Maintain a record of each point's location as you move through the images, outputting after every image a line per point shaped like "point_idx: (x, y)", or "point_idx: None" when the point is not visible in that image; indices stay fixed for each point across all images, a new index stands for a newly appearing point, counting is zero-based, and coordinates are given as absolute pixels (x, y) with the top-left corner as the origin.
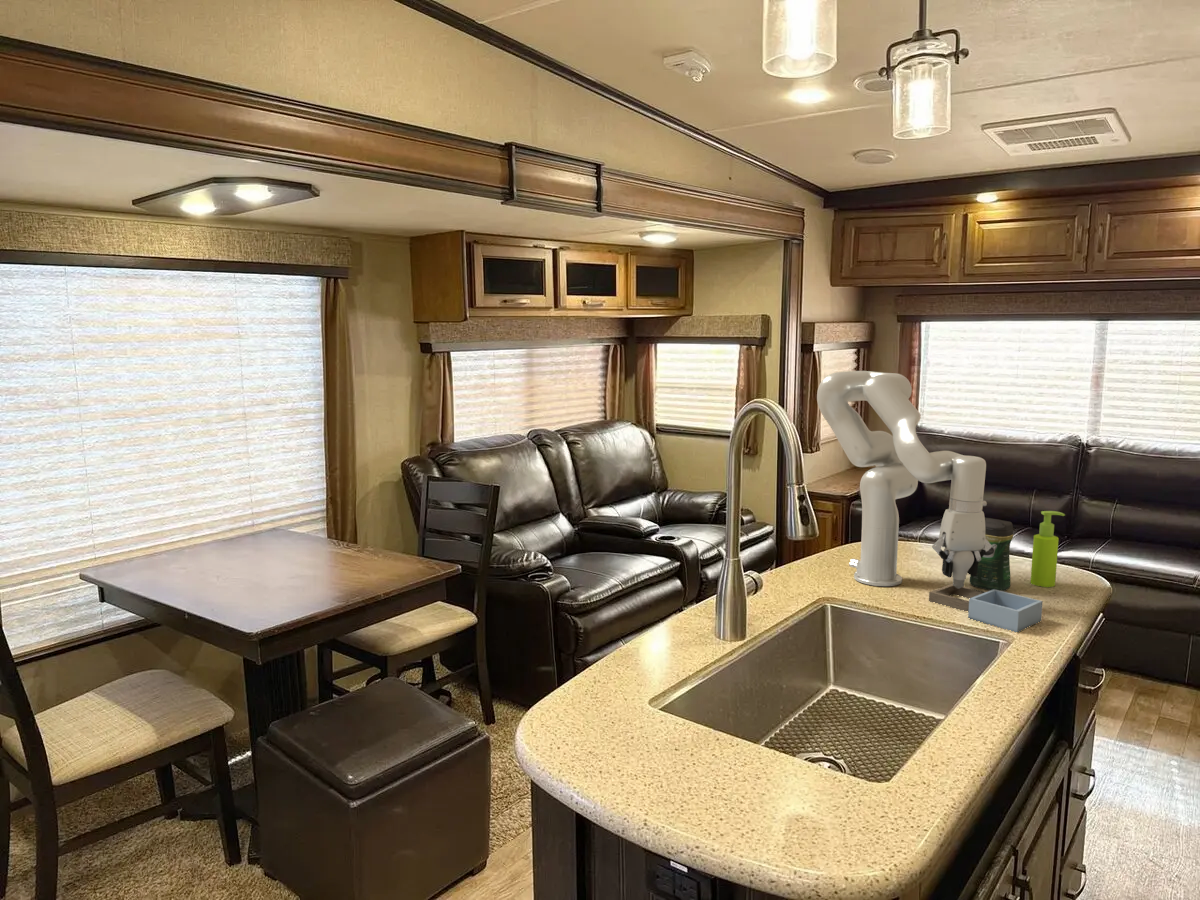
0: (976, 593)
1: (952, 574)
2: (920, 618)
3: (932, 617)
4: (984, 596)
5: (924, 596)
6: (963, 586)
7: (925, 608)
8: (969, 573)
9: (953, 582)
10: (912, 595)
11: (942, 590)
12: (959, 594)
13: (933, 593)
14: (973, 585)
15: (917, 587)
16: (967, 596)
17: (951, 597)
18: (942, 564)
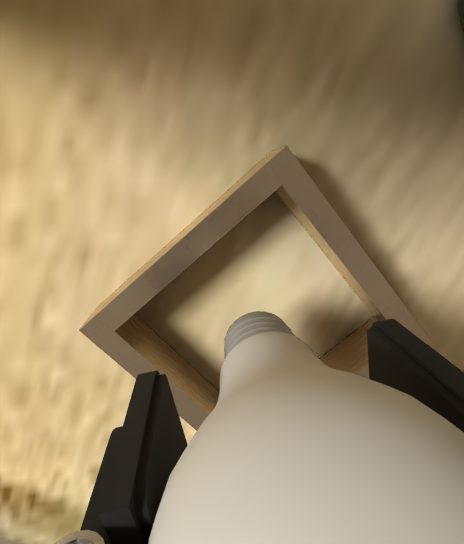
0: (360, 289)
1: (220, 383)
2: (15, 508)
3: (68, 493)
4: None
5: (93, 223)
6: (331, 209)
7: (60, 400)
8: (372, 361)
9: (225, 354)
10: (25, 208)
11: (176, 275)
12: (292, 210)
13: (100, 348)
14: (460, 18)
15: (86, 28)
16: (320, 245)
17: (180, 410)
18: (94, 486)
